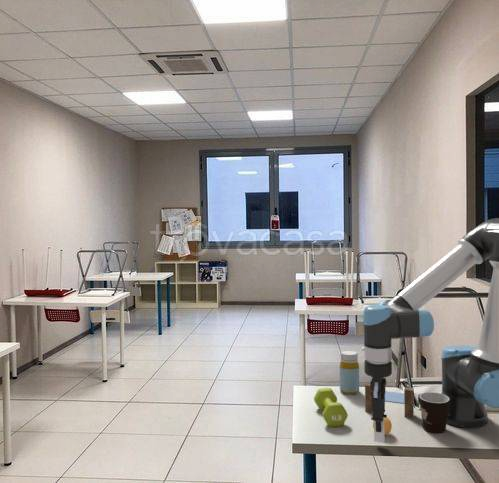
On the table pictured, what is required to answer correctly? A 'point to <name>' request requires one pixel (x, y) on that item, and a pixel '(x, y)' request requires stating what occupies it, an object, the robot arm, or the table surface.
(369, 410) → the post far
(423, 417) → the coffee mug
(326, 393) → the dumbbell
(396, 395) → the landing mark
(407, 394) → the post near
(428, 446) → the table surface
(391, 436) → the table surface
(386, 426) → the ball
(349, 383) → the bottle
